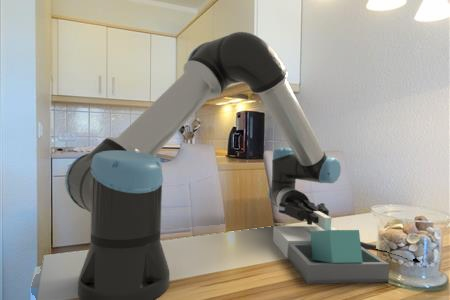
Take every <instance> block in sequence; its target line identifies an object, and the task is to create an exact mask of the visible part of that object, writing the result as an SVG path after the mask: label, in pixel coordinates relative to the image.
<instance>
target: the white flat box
mask: <svg viewBox="0 0 450 300" xmlns="http://www.w3.org/2000/svg"><path fill="white" fill-rule="evenodd" d="M331 230H338V229H337V228H336V227H334V226H332V225H331ZM310 231H324V229H322V228H321V227H319V226H318V225H316V226H314V225H313V226H312V225H307V226H306V225H304V226H303V225H302V226H301V225H299V226H298V225H296V226H294V225H293V226H291V225H290V226H287V225H286V226H285V225H284V226H282V225H279V226H278V225H277V226H275V225H274V226H273V239H272V242H273V243H274V245H275V246H277V248H278V249H279V250H280V252H281V253H282V254H283V256H285V258H286V259H287V260H288V244H311V232H310Z"/></svg>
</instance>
